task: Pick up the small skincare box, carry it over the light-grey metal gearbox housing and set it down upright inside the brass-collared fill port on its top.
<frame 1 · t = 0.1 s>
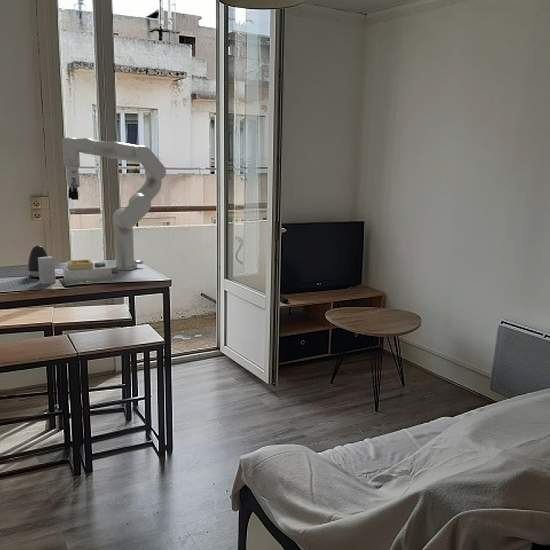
hand: (73, 198, 270), 37 cm above the table, tool pointing down, fingers open, 9 cm apart
smart speaker: (39, 276, 265), on the table
gearbox: (87, 278, 262), on the table
skincare box: (47, 283, 252), on the table
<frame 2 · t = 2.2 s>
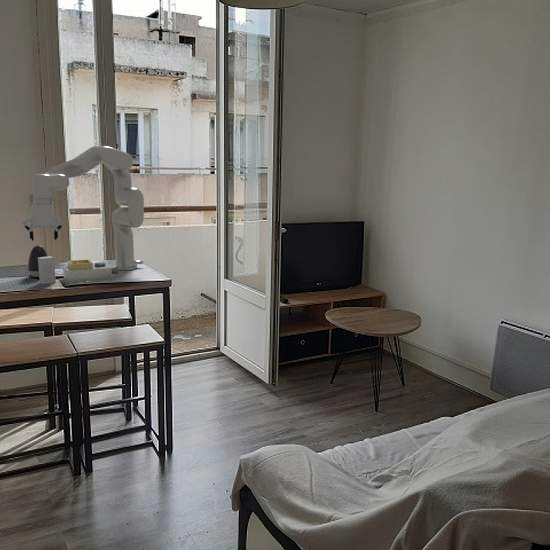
hand: (44, 240, 247), 20 cm above the table, tool pointing down, fingers open, 9 cm apart
nothing on the table moved.
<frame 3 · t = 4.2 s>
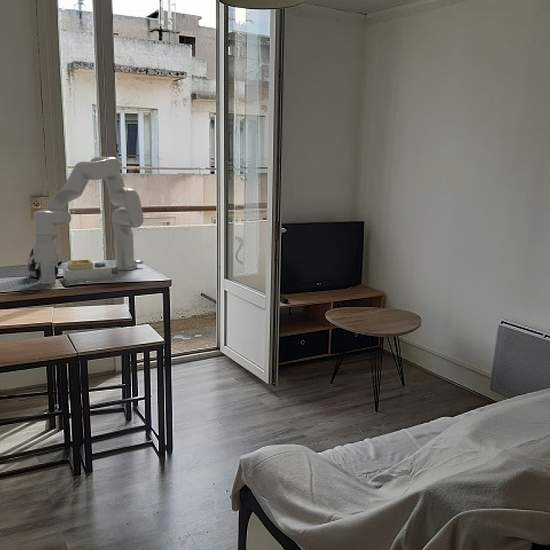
hand: (47, 276, 251), 3 cm above the table, tool pointing down, fingers closed on skincare box, 6 cm apart
skincare box: (47, 283, 252), on the table, touching gripper
everything else where it was.
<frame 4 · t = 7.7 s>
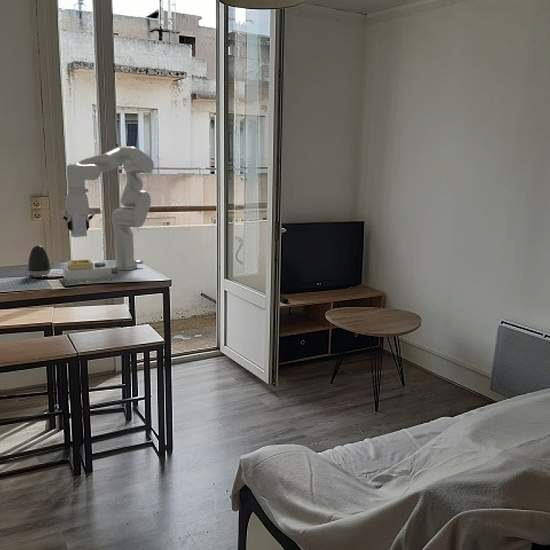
hand: (78, 229, 255), 24 cm above the table, tool pointing down, fingers closed on skincare box, 6 cm apart
skincare box: (78, 236, 256), point 20 cm above the table, touching gripper
everything else where it was.
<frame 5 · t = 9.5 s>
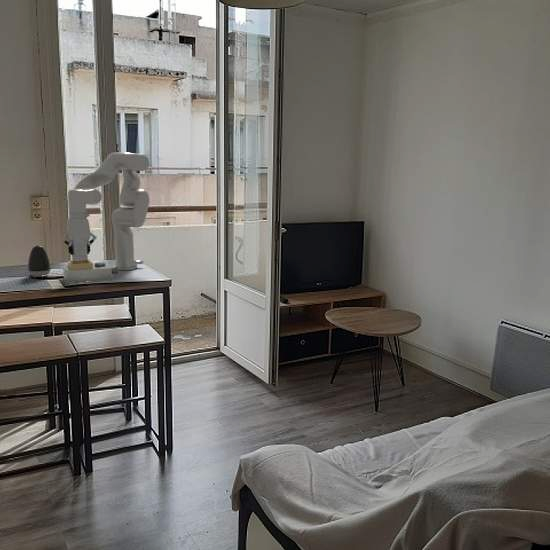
hand: (79, 253, 258), 12 cm above the table, tool pointing down, fingers closed on skincare box, 6 cm apart
skincare box: (79, 260, 258), point 9 cm above the table, touching gripper
everything else where it was.
when the fingers open (10 cm above the table, at t = 10.9 s): skincare box drops 1 cm, resting on gearbox.
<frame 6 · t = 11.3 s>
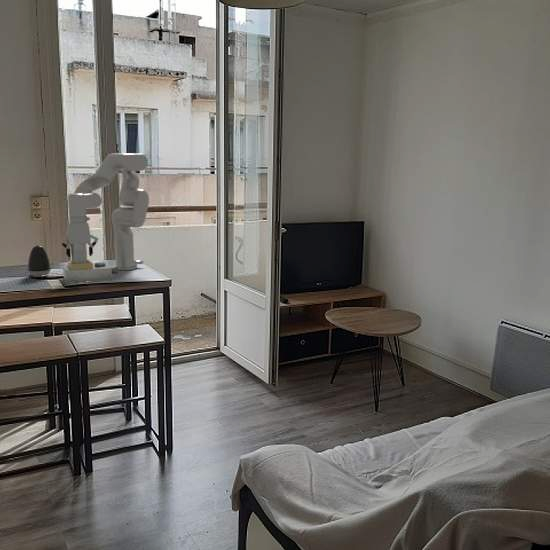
hand: (79, 256, 258), 11 cm above the table, tool pointing down, fingers open, 9 cm apart
skincare box: (79, 267, 259), point 6 cm above the table, touching gearbox
everything else where it was.
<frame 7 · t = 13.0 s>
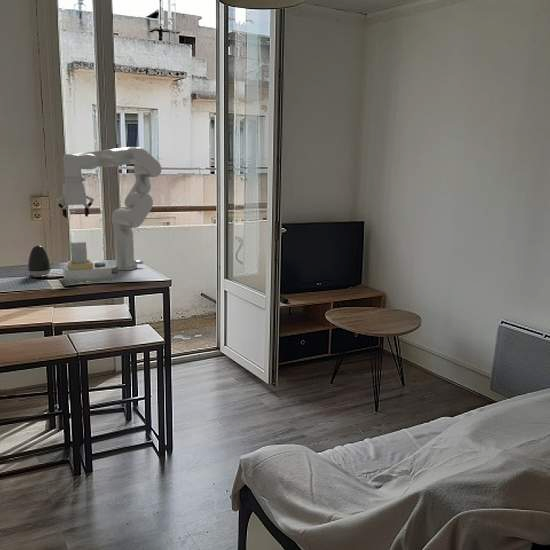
hand: (76, 216, 262), 29 cm above the table, tool pointing down, fingers open, 9 cm apart
nothing on the table moved.
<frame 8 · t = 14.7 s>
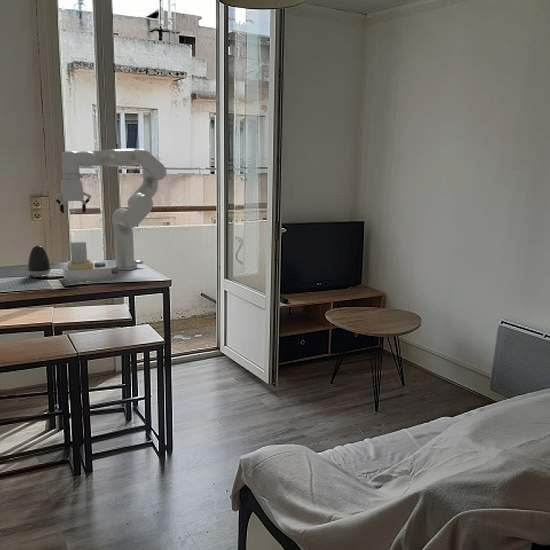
hand: (73, 212, 267), 30 cm above the table, tool pointing down, fingers open, 9 cm apart
nothing on the table moved.
at the end: skincare box inside the target area on the gearbox (0.4 cm from its centre), point 5.8 cm above the gearbox's base; skincare box tilted 0°; the gripper is holding nothing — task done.
